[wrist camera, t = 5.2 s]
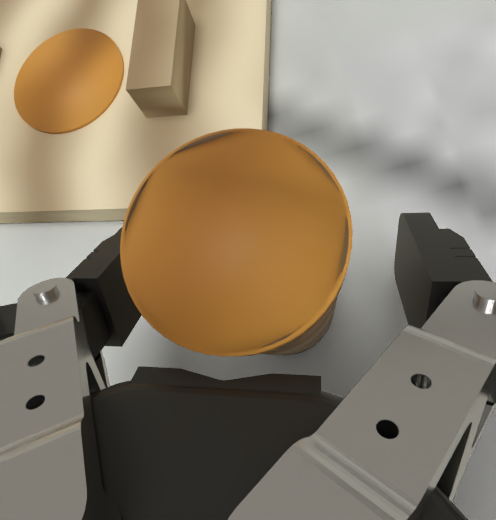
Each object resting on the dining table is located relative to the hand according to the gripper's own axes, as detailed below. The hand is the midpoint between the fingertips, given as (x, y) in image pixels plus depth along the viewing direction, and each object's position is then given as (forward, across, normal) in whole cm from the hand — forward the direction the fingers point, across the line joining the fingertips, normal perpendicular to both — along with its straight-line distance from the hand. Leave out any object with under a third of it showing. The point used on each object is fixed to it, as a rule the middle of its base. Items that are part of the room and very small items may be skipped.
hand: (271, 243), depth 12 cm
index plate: (+10, +11, -4) cm, 15 cm away
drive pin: (+2, 0, +4) cm, 5 cm away
